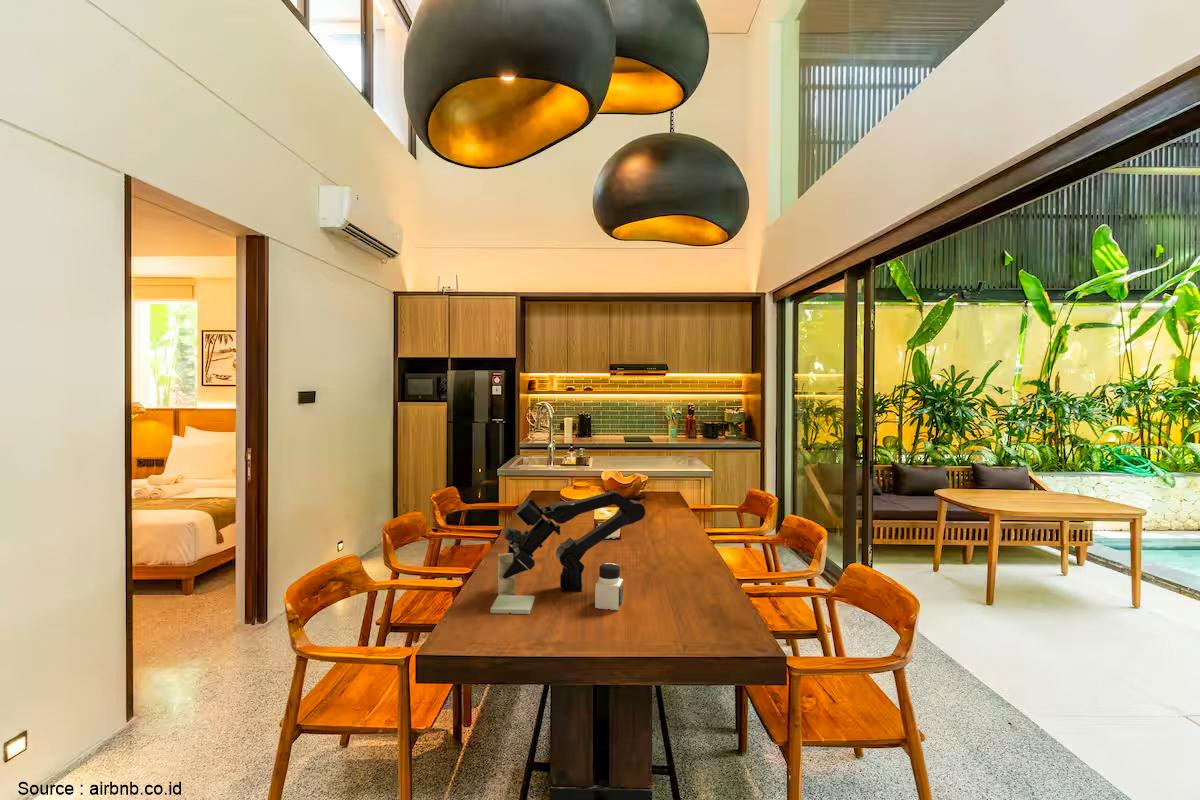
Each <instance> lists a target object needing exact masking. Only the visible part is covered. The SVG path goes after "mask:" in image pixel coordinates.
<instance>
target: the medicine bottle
mask: <svg viewBox="0 0 1200 800" xmlns="http://www.w3.org/2000/svg"><path fill="white" fill-rule="evenodd" d="M620 570H621V567H620V566H619V564H616V563H613V562H606V563H605V562H604V563H602V564H601V565H599V570H598V571H599V574H598V575H599V577H598V578H599V579H598V580H597V582H596V583H595V585H594V586H595V587H594V588H595V592H594V593H595V594H594V595H595V596H594V601H595V602H594V608H595V609H596V608H598V610H608V609H610V610H609V611H611V610H612V611H620V609H621V606H622V605H623V602H624V579H623V578H620V577H621V571H620Z"/></svg>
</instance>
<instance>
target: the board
mask: <svg viewBox="0 0 1200 800" xmlns="http://www.w3.org/2000/svg"><path fill="white" fill-rule="evenodd" d="M535 599H536V597H535V595H515V596H513V595H499V594H498V595H497V597H496V599H495V600H494V601H493V603H492V606H491V607H490V611H489V612H490V613H489V614H509V613H511V614H513V615H515V614H517V615H520V614H521V615H530V612H531V611H532V608H533V605H534V603H535Z"/></svg>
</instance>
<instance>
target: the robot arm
mask: <svg viewBox="0 0 1200 800" xmlns="http://www.w3.org/2000/svg"><path fill="white" fill-rule="evenodd" d="M609 506H617V507H618V508H617V511H616V512H615V514H614V515H612V516H611V517H609V518H608V519H607V520H605V521H603V522H602V523H601V524H599V525H598V526H596V527H594V528H593V529H592V530H590V531H589V532H587V533H586V534H584V535H583V536H581V537H580V538H578V539H575V540H574V539H573V538H572V537H568V538H567V539H566V540H565V541H564V542H560V543H559V546H558V547H557V548H556V550H555V556H556V559H557V560H558V562H559V564H561V566H562V570H561V573H560V575H559V577H560V580H559V585H560V586H559V587H560V588H561V590H560V591H562V592H582V591H583V587H584V586H583V585H584V583H583V573H584V569H585V564H583V562H582V561H581V560H582V558H583V557H584V556H585V554H586V552H588V551H589V550H590V549H592V548H593V547H594V546H596V545H597V544H599V543H600V542H601V541H604V540H605V539H606V538H608V537H609V536H611V535H612V534H614V533H615V532H617V531H618V530H619V529H621V528H623V527H625V526H629V525H633V524H636V523H638V522H639V521H641V520H643V519H644V518H645V516H646V508H645V506H644V505H643V504H641V503H640V502H638V501H636V500H634V499H627V498H626V497H624V496H623V495H621V494H620V493H619V492H617V491H615V490H609V491H607V492H604V493H600V494H596V495H593V496H588V497H585V498H582V499H578V500H571V501H570V500H564V501H556V502H554V503H551V504H550V505H549V506H543V507H540V506H539V505H538V504H536V502H535V500H534V499H533V498H531V497H529V498H528V499H527V500H526V501H523V503H521V504H519V506H518V507H517V508H516V509H515V512H514V515H516V517H518V518H519V519H520V520H521V521H522V522H523V523H524V524H525V525H526V526H531V528H530V530H525V531H524V532H523V531H520V530H518V529H517V528H514V527H511V526H507V527H506V529H505V532H504V534H503V537H504V539H505V540H507V541H508V542H507V553H513V554H514V555H513V562H512V563H511V565H510V566H509V568H508V569H507V570H506V572H505V573H504V575H503V578H504V579H506V578H508V577H511V576H513V575H515V576H516V575H517V574H520V573H523V572H526V571H529V570H530V571H531V570H532V569H533V568H534V567H535V564H536V563H535V559H534V558H533V557H534V553H535V552H536V551H537V550H538V549H539V548H540V549H541V548H542V547H544V545H543V544H544V542H546V540H547V539H548V538H549V537H550V536H552V534H553V533H554V532H555V534H557V536H560V535H561V526H560V524H565V523H567V522H569V521H571V520H573V519H575V518H576V517H577V516H579V515H581V514H584V513H589V512H592V511H595V510H599V509H603V508H606V507H609ZM543 516H544V517H545V518H546V519H547V520H546V519H545V518H544V517H543ZM553 521H554V522H555V523H554V522H553ZM556 523H557V524H556Z"/></svg>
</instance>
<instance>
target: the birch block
mask: <svg viewBox="0 0 1200 800" xmlns="http://www.w3.org/2000/svg"><path fill="white" fill-rule="evenodd" d="M513 555H514V554H513V553H498V554H497V594H498V595H513V596H516V594H515V593H516V591H515V589H516V586H515V585H516V584H515V582H516V574H515V575H513V576H511V577H508V578H506V579H504V578H503V575H504V573H505V572H506V570H507V569H508V568H509V566H510V565H511V563H512V562H513Z"/></svg>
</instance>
